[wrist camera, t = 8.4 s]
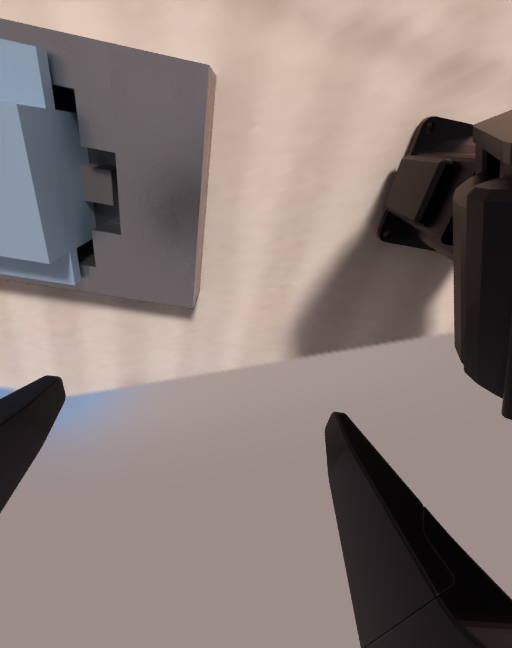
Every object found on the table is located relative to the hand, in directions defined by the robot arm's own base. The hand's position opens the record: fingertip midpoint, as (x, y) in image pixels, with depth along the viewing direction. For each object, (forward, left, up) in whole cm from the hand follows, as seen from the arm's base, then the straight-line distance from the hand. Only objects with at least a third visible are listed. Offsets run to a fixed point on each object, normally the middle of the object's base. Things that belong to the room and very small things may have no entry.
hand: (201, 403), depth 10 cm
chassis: (+11, -4, -12) cm, 17 cm away
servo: (+11, -4, -12) cm, 17 cm away
